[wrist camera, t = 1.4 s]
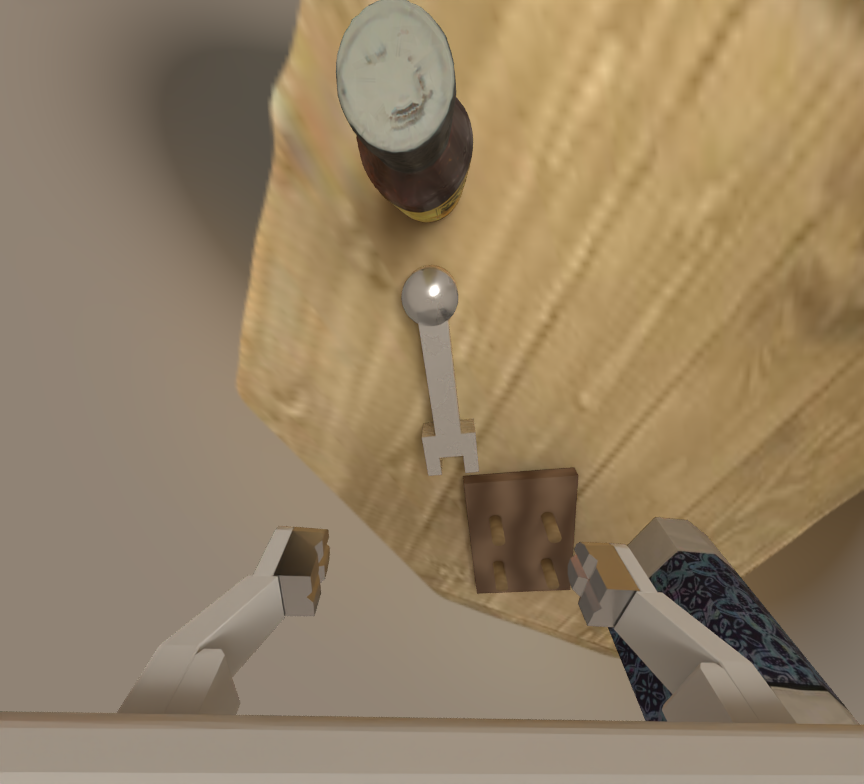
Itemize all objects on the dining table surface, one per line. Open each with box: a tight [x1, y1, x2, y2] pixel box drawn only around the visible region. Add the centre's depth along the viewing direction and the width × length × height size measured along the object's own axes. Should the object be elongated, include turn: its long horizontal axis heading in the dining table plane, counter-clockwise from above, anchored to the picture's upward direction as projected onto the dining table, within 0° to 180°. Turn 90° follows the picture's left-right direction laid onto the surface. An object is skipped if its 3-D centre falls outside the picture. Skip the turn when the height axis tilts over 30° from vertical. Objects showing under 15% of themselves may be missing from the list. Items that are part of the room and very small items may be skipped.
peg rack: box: [463, 468, 578, 594], centre depth 45 cm, size 14×22×5 cm, turn 8°
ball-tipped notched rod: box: [402, 265, 479, 476], centre depth 36 cm, size 23×6×3 cm, turn 8°
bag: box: [608, 517, 860, 725], centre depth 31 cm, size 18×9×40 cm, turn 158°
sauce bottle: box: [336, 0, 473, 222], centre depth 20 cm, size 6×6×20 cm
